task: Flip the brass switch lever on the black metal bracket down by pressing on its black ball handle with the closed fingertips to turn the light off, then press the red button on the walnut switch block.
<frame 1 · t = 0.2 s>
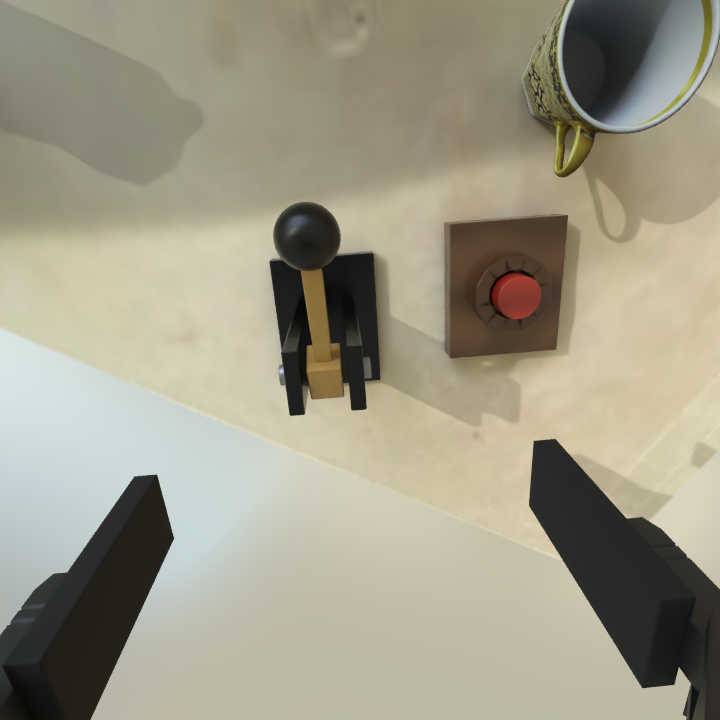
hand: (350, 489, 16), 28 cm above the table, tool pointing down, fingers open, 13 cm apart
switch bracket: (328, 320, 42), on the table
button block: (497, 285, 42), on the table
switch lever: (317, 311, 27), point 15 cm above the table, hinge at 25.0°
ceramic cup: (552, 99, 37), on the table
button: (516, 295, 38), point 4 cm above the table, slide at 0.1 cm
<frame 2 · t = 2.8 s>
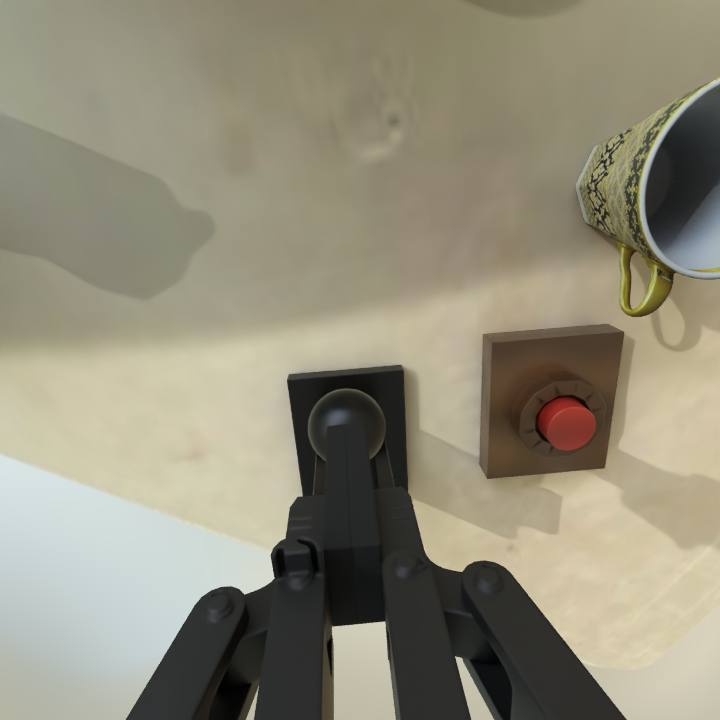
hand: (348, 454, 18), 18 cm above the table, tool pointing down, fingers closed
switch bracket: (350, 435, 38), on the table
button block: (540, 397, 38), on the table
switch lever: (353, 495, 23), point 14 cm above the table, hinge at 16.7°
ceramic cup: (608, 204, 33), on the table
button: (565, 423, 34), point 4 cm above the table, slide at 0.1 cm
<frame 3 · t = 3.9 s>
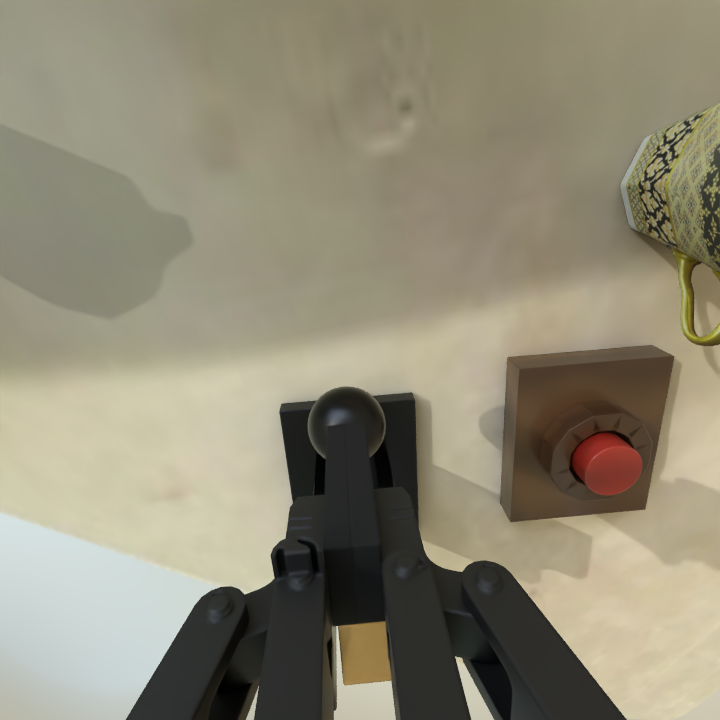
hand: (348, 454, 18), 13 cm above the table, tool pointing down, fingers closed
switch bracket: (353, 471, 33), on the table
button block: (571, 428, 33), on the table
switch lever: (355, 530, 20), point 12 cm above the table, hinge at -14.1°, touching gripper
ceramic cup: (657, 206, 28), on the table
button: (606, 463, 29), point 4 cm above the table, slide at 0.1 cm
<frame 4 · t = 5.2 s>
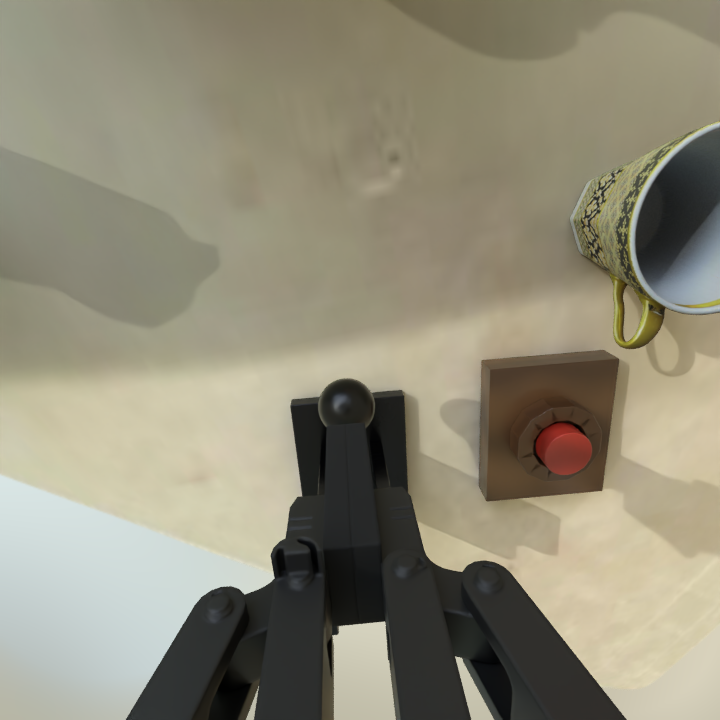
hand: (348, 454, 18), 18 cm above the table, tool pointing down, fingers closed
switch bracket: (352, 458, 39), on the table
button block: (538, 421, 39), on the table
switch lever: (353, 488, 27), point 11 cm above the table, hinge at -22.8°
ceramic cup: (602, 235, 34), on the table
button: (563, 448, 34), point 4 cm above the table, slide at 0.1 cm
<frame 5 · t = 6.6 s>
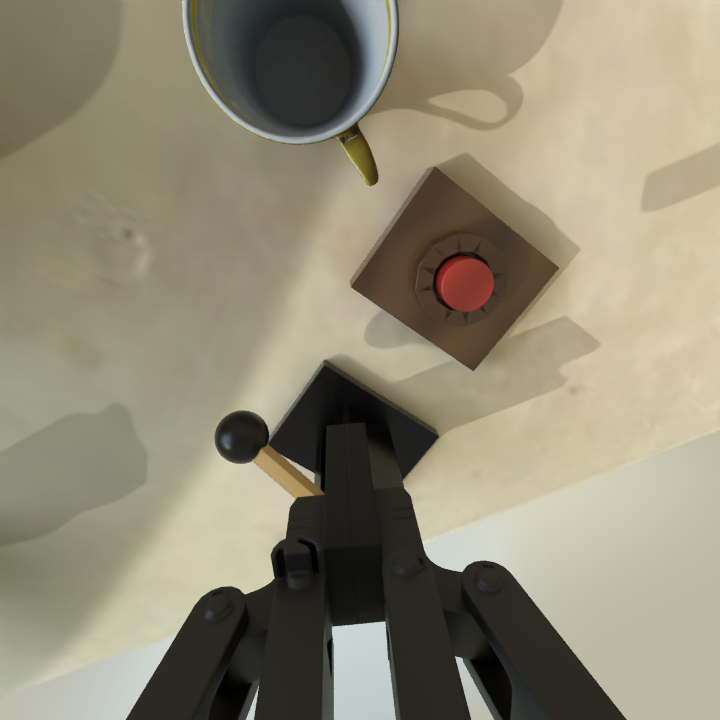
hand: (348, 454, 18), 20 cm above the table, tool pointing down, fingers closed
switch bracket: (352, 434, 40), on the table
button block: (448, 272, 36), on the table
switch lever: (299, 486, 29), point 11 cm above the table, hinge at -22.8°
ceramic cup: (316, 98, 31), on the table
button: (464, 283, 31), point 4 cm above the table, slide at 0.1 cm
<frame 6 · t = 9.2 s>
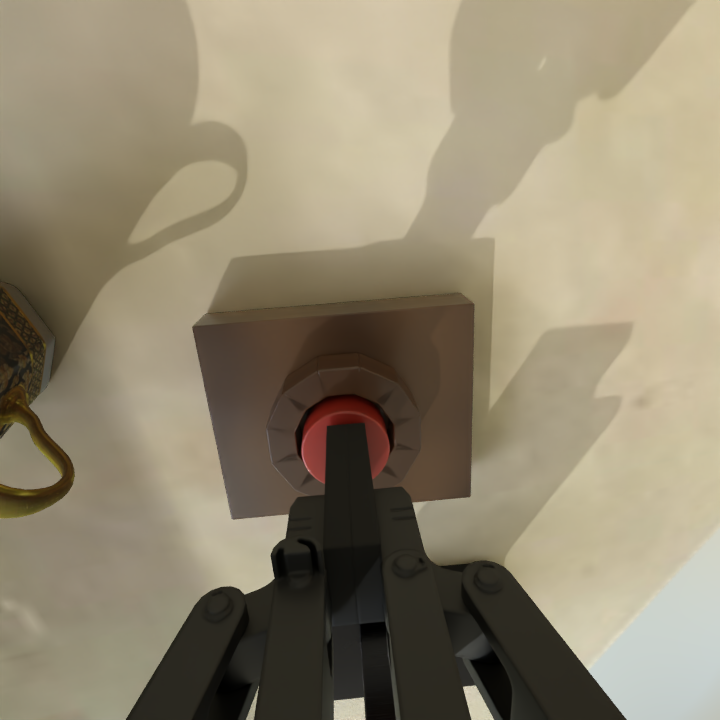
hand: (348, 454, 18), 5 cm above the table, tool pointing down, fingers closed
switch bracket: (395, 625, 29), on the table
button block: (343, 399, 23), on the table
ceramic cup: (17, 348, 21), on the table
button: (345, 440, 19), point 4 cm above the table, slide at -0.3 cm, touching gripper
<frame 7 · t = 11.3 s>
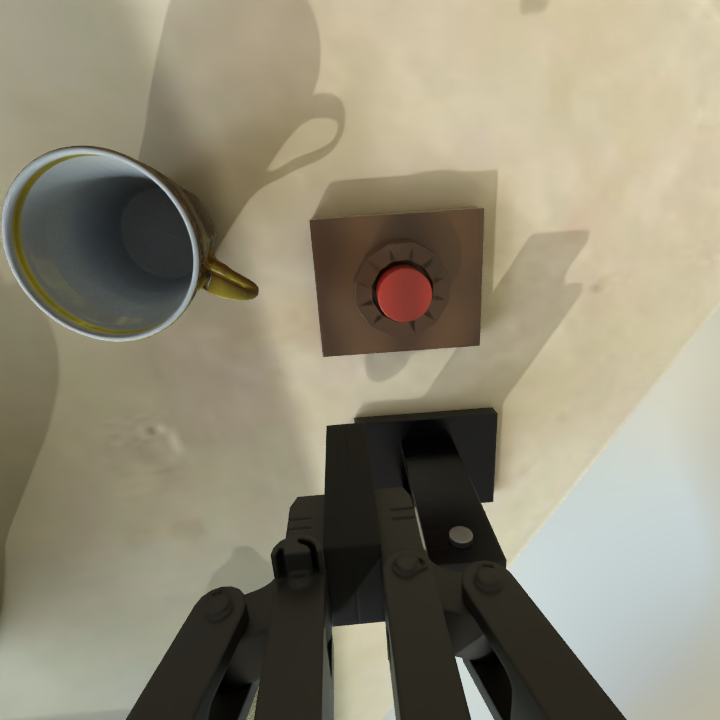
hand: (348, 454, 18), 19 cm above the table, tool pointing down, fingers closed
switch bracket: (424, 457, 41), on the table
button block: (396, 280, 35), on the table
ceramic cup: (190, 240, 33), on the table
button: (403, 293, 31), point 4 cm above the table, slide at 0.1 cm
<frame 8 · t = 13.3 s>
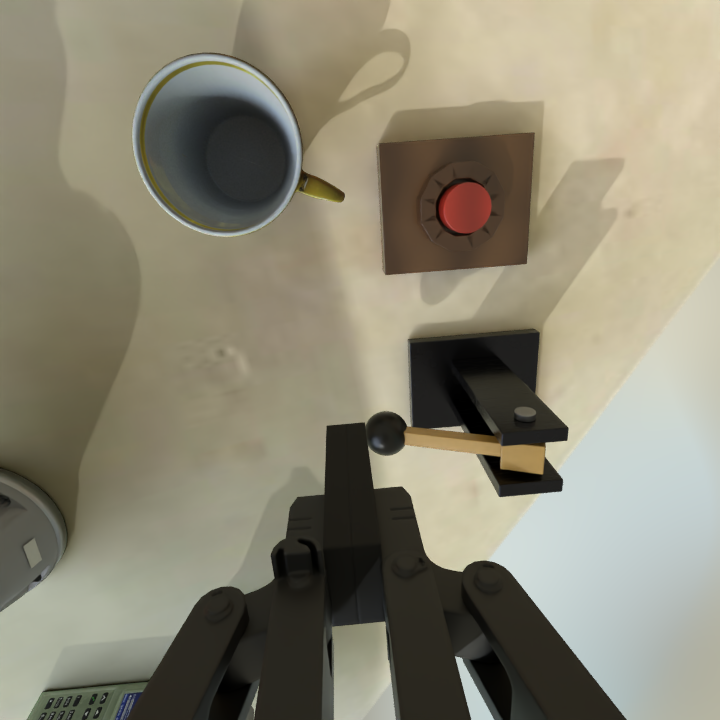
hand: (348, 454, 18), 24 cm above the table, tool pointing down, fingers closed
switch bracket: (470, 378, 44), on the table
button block: (450, 206, 38), on the table
switch lever: (449, 440, 34), point 11 cm above the table, hinge at -22.8°
ceramic cup: (266, 167, 37), on the table
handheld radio: (147, 685, 57), on the table
button: (464, 207, 34), point 4 cm above the table, slide at 0.1 cm
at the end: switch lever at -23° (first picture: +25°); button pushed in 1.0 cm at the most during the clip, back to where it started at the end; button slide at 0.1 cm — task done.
